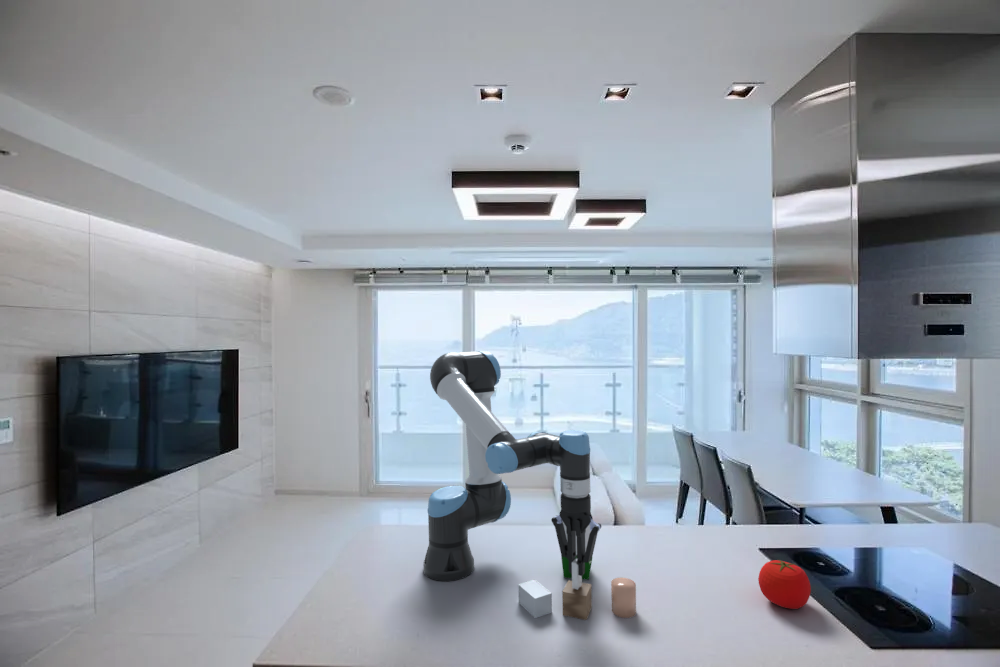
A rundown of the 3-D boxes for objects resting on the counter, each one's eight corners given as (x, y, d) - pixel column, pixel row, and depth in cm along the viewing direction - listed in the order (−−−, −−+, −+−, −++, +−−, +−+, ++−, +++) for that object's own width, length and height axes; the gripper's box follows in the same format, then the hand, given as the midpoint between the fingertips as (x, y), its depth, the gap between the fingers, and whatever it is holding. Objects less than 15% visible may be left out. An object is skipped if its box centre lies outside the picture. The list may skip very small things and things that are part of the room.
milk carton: (562, 564, 151) (561, 498, 150) (593, 567, 149) (592, 500, 149) (560, 579, 142) (559, 509, 142) (592, 581, 140) (591, 511, 140)
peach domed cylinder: (608, 613, 125) (607, 585, 125) (616, 602, 130) (615, 575, 130) (631, 620, 122) (631, 592, 121) (639, 608, 127) (638, 581, 126)
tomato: (815, 602, 128) (815, 561, 128) (802, 622, 119) (802, 579, 119) (768, 586, 136) (767, 548, 136) (752, 605, 127) (752, 564, 127)
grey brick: (518, 603, 130) (518, 584, 130) (534, 598, 133) (534, 579, 133) (535, 618, 123) (534, 598, 123) (552, 612, 126) (551, 593, 126)
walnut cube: (562, 615, 124) (562, 591, 124) (568, 603, 130) (568, 580, 130) (586, 620, 122) (586, 596, 122) (591, 607, 128) (591, 584, 128)
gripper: (545, 493, 126) (547, 586, 126) (594, 502, 119) (595, 600, 119) (558, 485, 132) (560, 573, 133) (605, 493, 125) (607, 586, 126)
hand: (577, 586), depth 126 cm, fingers closed
